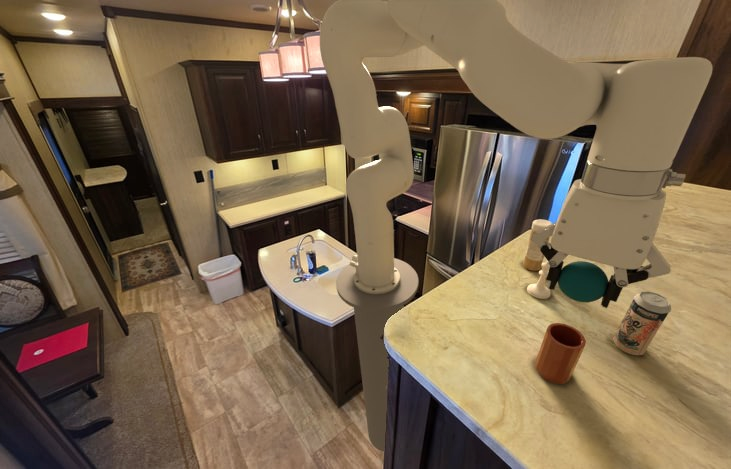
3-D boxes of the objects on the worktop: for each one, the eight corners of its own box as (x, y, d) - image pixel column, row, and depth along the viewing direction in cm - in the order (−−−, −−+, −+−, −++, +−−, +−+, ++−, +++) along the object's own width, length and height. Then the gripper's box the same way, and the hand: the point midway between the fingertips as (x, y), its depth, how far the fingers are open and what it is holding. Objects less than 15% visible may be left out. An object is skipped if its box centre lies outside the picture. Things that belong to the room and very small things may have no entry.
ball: (549, 300, 44) (559, 268, 41) (557, 280, 48) (567, 249, 45) (598, 317, 40) (612, 283, 37) (603, 294, 44) (616, 261, 41)
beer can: (605, 340, 56) (629, 294, 51) (623, 333, 58) (648, 286, 52) (632, 360, 52) (661, 312, 47) (650, 352, 54) (681, 304, 48)
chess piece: (550, 288, 70) (560, 254, 66) (550, 301, 67) (562, 266, 62) (527, 283, 73) (536, 250, 68) (526, 295, 69) (536, 261, 64)
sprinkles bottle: (529, 259, 81) (540, 217, 74) (545, 268, 77) (558, 223, 71) (518, 265, 79) (529, 221, 73) (533, 273, 76) (546, 228, 69)
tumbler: (531, 372, 52) (543, 337, 47) (539, 352, 55) (551, 318, 51) (566, 390, 49) (582, 354, 44) (572, 367, 52) (588, 332, 48)
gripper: (722, 179, 32) (655, 302, 41) (547, 161, 42) (523, 262, 51) (734, 202, 27) (655, 336, 36) (533, 176, 37) (509, 284, 46)
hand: (578, 292), depth 43 cm, fingers closed on ball, 5 cm apart
